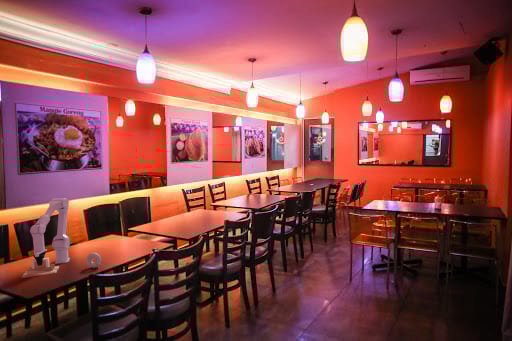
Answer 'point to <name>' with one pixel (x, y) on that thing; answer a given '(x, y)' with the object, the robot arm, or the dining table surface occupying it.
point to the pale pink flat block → (44, 264)
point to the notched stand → (40, 271)
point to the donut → (97, 258)
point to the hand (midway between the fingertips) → (40, 264)
